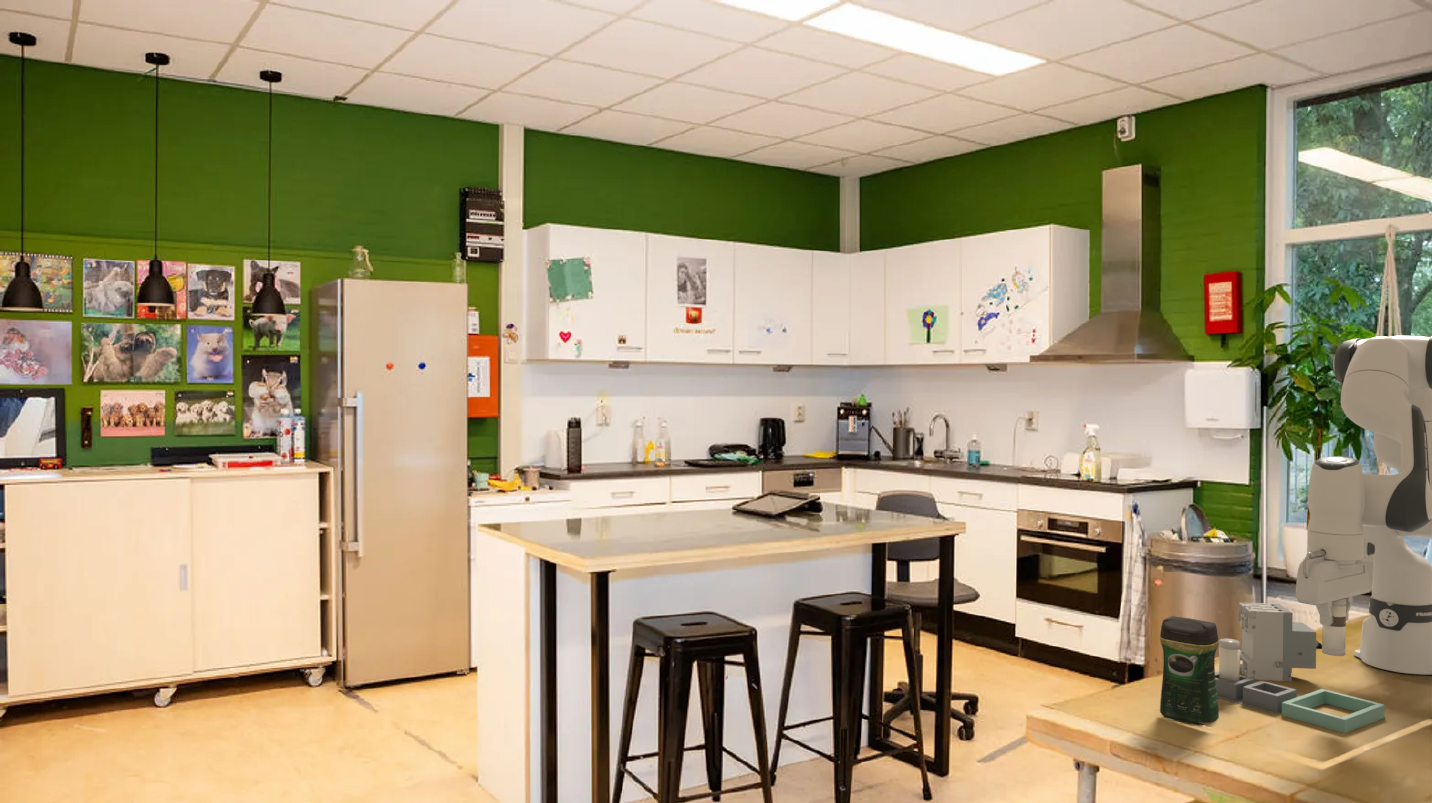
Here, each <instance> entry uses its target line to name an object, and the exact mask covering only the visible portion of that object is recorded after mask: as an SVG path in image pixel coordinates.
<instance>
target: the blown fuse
mask: <svg viewBox="0 0 1432 803" xmlns="http://www.w3.org/2000/svg"><path fill="white" fill-rule="evenodd" d="M1330 609H1331V614H1332V615H1334V624H1333V625H1329V626H1326V625H1322V637H1321V638H1322V640H1321V641H1322V642H1321V644H1322V649H1321V652H1322V653H1323V654H1324V655H1327V656H1333V657H1334V656H1335V657H1344V656H1346V632H1347V631H1346V629H1347V621H1346V598H1344V599H1340V600H1336V601H1332V607H1330Z"/></svg>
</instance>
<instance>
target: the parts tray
mask: <svg viewBox="0 0 1432 803" xmlns="http://www.w3.org/2000/svg"><path fill="white" fill-rule="evenodd" d="M1324 704H1325V705H1330V706H1333V707H1337V708H1341V709H1345V710H1347V711H1348V710H1349V711H1352V712H1351V713H1350V714H1346V715H1344V716H1339V715H1337V714H1336V715H1335V714H1332V713H1328V712H1324V711H1320V710H1317V709H1314V708H1315V707H1318V706H1322V705H1324ZM1385 715H1386V705H1385V704H1383V703H1379V702H1376V701H1372V700H1367V699H1364V698H1360V697H1357V696H1353V695H1348V694H1344V693H1341V692H1336V691H1333V690H1330V689H1329V690H1328V689H1326V688H1325V689H1324V688H1320V689H1317V690H1315V691H1312V692H1308V693H1306V694H1302V695H1300V696H1297V697H1296V698H1294V699H1291V700H1288V701H1285V702H1282V712H1281V716H1283V717H1286V718H1290V719H1294V720H1297V721H1301V722H1305V723H1308V724H1311V725H1315V726H1318V727H1322V728H1325V729H1329V730H1332V731H1336V732H1339V733H1343V734H1346V733H1348V732H1351V731H1354V730H1356V729H1359V728H1362V727H1365V726H1367V725H1370V724H1372V723H1374V722H1377V721H1380V720H1382V719H1385V717H1386V716H1385Z"/></svg>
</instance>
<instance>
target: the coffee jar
mask: <svg viewBox="0 0 1432 803" xmlns="http://www.w3.org/2000/svg"><path fill="white" fill-rule="evenodd" d="M1217 628H1218V627H1217V624H1216V623H1215V622H1212V621H1205V620H1201V619H1195V618H1189V617H1182V616H1181V617H1180V616H1174V615H1172V616H1169V617H1166V618H1165V619H1163V620H1162V622H1161V627H1160V634H1159V641H1160V645H1161V647H1162V652H1163V653H1162V655H1163V656H1162V657H1163V668H1162V669H1163V670H1162V671H1163V672H1162V681H1161V690H1160V692H1161V693H1160V701H1159V713H1160V714H1161V715H1162V716H1163V717H1164V718H1166V719H1169V720H1172V721H1176V722H1181V723H1184V724H1190V725H1195V726H1205V724H1207V723H1208V724H1209V723H1213V722H1215V721H1217V720H1218V719H1219V717H1220V716H1219V715H1220V711H1219V710H1220V709H1219V700H1218V699H1219V698H1217V690H1216V680H1215V673H1216V670H1215V662H1216V661H1215V658H1216V652H1217V650H1218V649H1219V640H1220V639H1219V635H1218V634H1219V633H1218V629H1217Z"/></svg>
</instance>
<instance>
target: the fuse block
mask: <svg viewBox="0 0 1432 803" xmlns="http://www.w3.org/2000/svg"><path fill="white" fill-rule="evenodd" d="M1215 680H1216V690H1217V698H1218V699H1221V700H1225V701H1229V702H1231V703H1235V704H1238V705H1242V706H1246V707H1248V708H1252V709H1256V710H1260V711H1263V712H1266V713H1270V714H1274V715H1277V714H1280V713H1282V702H1285V701H1288V700H1291V699H1294V698H1296V697H1298V689H1295V688H1292V687H1288V686H1284V685H1280V684H1276V683H1273V682H1268V681H1266V680H1259V681H1257V682H1256V680H1255V679H1254V678H1250V677H1246V676H1245V675H1243V674H1242V675H1241V674H1240V678H1239V681H1237V682H1234V683H1233V682H1230V681H1226V680H1222V679H1219V671H1215Z"/></svg>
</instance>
